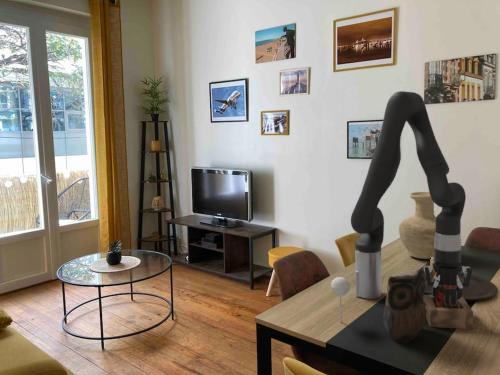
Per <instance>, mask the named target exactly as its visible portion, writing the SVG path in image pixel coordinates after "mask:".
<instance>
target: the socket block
mask: <svg viewBox="0 0 500 375" xmlns="http://www.w3.org/2000/svg"><path fill="white" fill-rule="evenodd" d="M423 301H424V303H425V304H426V305H425V308H426V311H427V312H426V320H427V323H428V325H429V326H430V328H449V329H465V330H466V329H467V330H473V329H474V327H473V326H474V325H473V324H474V323H473V322H474V311H473V309H472V308H471V307H470V305H469V304H468V302H467V301H466V299H465V298H464V296H462V297H461V298H460V300H459V299H457V308H436V299H435V298H434V297H433V295H432V294H424V296H423Z"/></svg>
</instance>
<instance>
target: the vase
mask: <svg viewBox="0 0 500 375" xmlns="http://www.w3.org/2000/svg"><path fill="white" fill-rule="evenodd" d="M409 196H410V199H412V200H414V202H415V207H414V208H415V213H414V215H413V216H410V217H408V218H406V219H404V220H403V221H401V223H400V224H399V226H398V233H399V234H398V235H399V237H400V241H401V243H402V244H403V246H404V247H405V249H406V251H407V254H408V255H409V256H411V257H413V258H416V259H423V260H431V259H430V258H431V257H434V242H435V233H436V217H437V216H436V215H435V209H434V208H435V203H434V202H433V200H432V198H431V196H430V193H429V191H416V192H411V193H410V194H409Z"/></svg>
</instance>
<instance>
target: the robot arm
mask: <svg viewBox="0 0 500 375" xmlns="http://www.w3.org/2000/svg"><path fill="white" fill-rule="evenodd" d="M406 123H407V124H408V125H409V127H410V128H411V131H412V132H413V135H414V139H415V148H416V149H415V150H416V155H417V158H418V161H419V164H420V166H421V168H422V170H423V173H424V174H425V176H426V181H427V188H428V192H429V193H430V196H431V198H432V200H433V202H434V205H436V206H437V207H440V208H441V211H440V212H439V213H438V214H437V215H436V216H435V217H436V233H435V242H434V258H433V260H434V261H433V263H432V264H431V265H427V264H424V265H423V267H422V268H423V273H424V280H425V283H426V285H427V286H430V287H431V295H433V297H434V298H435V299H437V298H438V288H437V286H438V284H439V282H440V275H439V276H438V277H437V274H438V271H439V267H442V268H458V273H457V274H458V275H457V299H459V300H460V298H461V297H463V288H468V287H469V286H470V282H471V279H472V271H473V269H472V268H471V267H470V266H469V265H466V266H464V265H462V264H461V263H462V262H461V261H462V237H461V236H462V235H461V228H462V227H461V226H462V225H461V224H462V223H461V219H462V216H463V212H464V209H465V205H466V195H467V194H466V190H465V189H464V186H463V185H462V184H460V183H458V182H453V181H452V182H449V180H448V176H447V175H448V174H449V172H450V167H449V165H448V162H447V160H446V158H445V156H444V155H443V152H442V150H441V148H440V146H439V145H440V144H439V143H438V141H437V139H436V135H435V134H434V130H433V127H432V124H431V121H430V118H429V114H428V111H427V106H426V104H425V101H424V99H423V96H421V95H420V94H419V93H416V92H414V91H405V90H403V91H396V92H394V93H393V94H392V95H391V96H390V97H389V98H388V101H387V103H386V107H385V110H384V115H383V120H382V125H381V129H380V134H379V136H378V140H377V143H376V146H375V149H374V153H373V155H372V158H371V161H370V164H369V167H368V171H367V174H366V176H365V179H364V183H363V186H362V190H361V191H360V192H361V193H360V195H359V197H358V200H357V202H356V204H355V206H354V208H353V211H352V213H351V216H350V225H351V228H352V229H353V231H354V232H356V233H357V234H359V236H358V238H357V239H356V241H355V243H354V251H355V253H354V254H355V255H354V257H355V258H354V260H355V261H354V262H355V268H354V270H355V272H354V274H355V275H354V276H355V279H354V280H355V281H354V282H355V297H359V298H363V299H370V300H374V299H379V298H380V297H381V296H382V245H383V242H384V235H385V233H384V232H385V217H384V213H383V212H382V210H381V209H380V208H379V207H378V205H379V203H380V201H381V200H382V198H383V196H384V195H385V193H386V192H387V191H388V189H389V188H390V186H392V183H393V182H394V180H395V178H396V175H397V173H398V170H399V168H400V165H401V164H400V163H401V158H402V152H401V138H402V137H401V136H402V133H403V130H404V128H405V125H406ZM432 270H434V272H435V274H434V277H433V278H432V280H431V273H432ZM461 272H462V273H463V279H462V281H461V280H460V278H459V274H460V273H461Z"/></svg>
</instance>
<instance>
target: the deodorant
mask: <svg viewBox="0 0 500 375" xmlns="http://www.w3.org/2000/svg"><path fill="white" fill-rule="evenodd" d="M457 273H458V268H442V267H439V271H438V274H437V277H438V276H439V275H440V282H439V284H438V286H437V288H438V298H437V299H436V308H457V275H458V276H459V274H457Z"/></svg>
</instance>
